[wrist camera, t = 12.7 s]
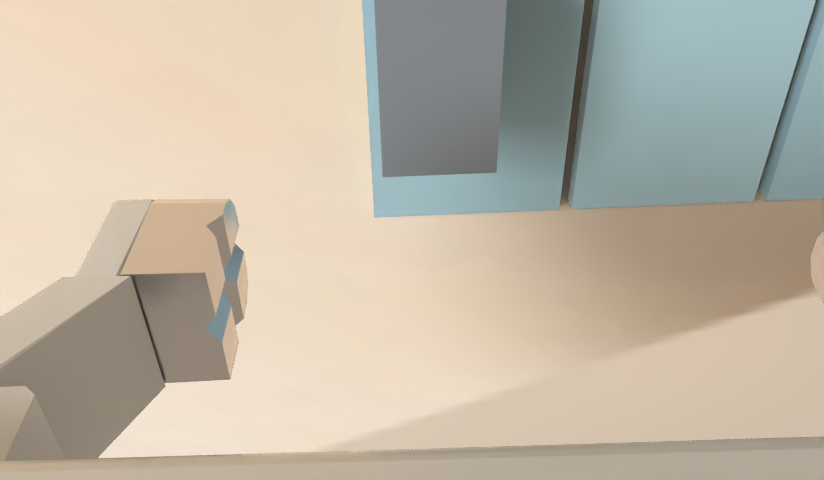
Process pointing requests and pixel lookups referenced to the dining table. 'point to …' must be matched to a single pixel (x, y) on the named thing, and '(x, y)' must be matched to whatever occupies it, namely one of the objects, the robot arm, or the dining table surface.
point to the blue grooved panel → (592, 103)
